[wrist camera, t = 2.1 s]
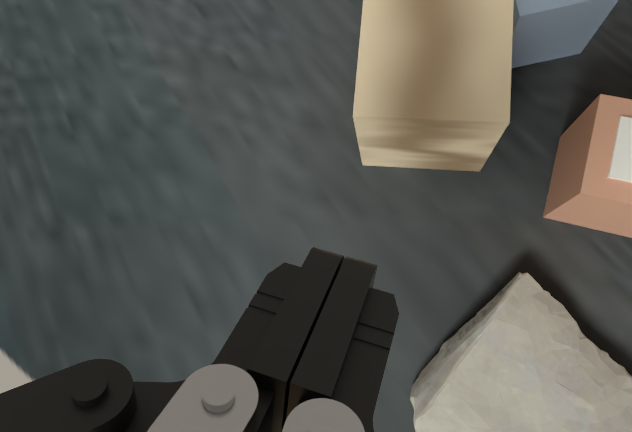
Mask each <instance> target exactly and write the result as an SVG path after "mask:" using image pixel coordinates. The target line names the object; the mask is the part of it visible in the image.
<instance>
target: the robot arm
mask: <svg viewBox="0 0 632 432" xmlns="http://www.w3.org/2000/svg"><path fill="white" fill-rule="evenodd" d="M376 270H377V265H374V264H371V263H367V262H364V261H360V260H357V259H353V258H350V257H345V259H344V256H342V255H339V254H335V253H332V252H328V251H325V250H321V249H318V248H314V247H313V248H312V249H311V250H310V252H309V254H308V256H307V258H306V260H305V261H304V263H303V265H302V267H298V266H295V265H291V264H288V263H283V264H282V265H280V266H279V267H277V268H276V269H274V270H273V271H272V272H270V273H269V274H267V276H266V277H265V279H264V281H263V282H262V284H261V286H260V287H259V289H258V290H257V294H255V295H254V297H253V299H252V300H251V302H250V304H249V307H248V308H246V310H245V312H244V313H243V315H242V317H241V318H240V320H239V322H238V323H237V325H236V327H235V328H234V330H233V331H232V333H231V335H230V336H229V338H228V340H227V341H226V343H225V345H224V346H223V348H222V349H221V351H220V353H219V354H218V356H217V358H216V359H215V360H214V362H213V363H212V364H211V365H209V366H206V367H203V368H201V369H199V370H197V371H196V372H194V373H193V374H192V375H190V376H189V377H188V378H187V379H186V380H183V381H179V382H168V383H164V382H133V379H132V376H131V374H130V372H129V371H128V370H127V369H126V367H125V366H123V365H122V364H120V363H118V362H116V361H112V360H108V359H94V360H89V361H85V362H82V363H79V364H76V365H74V366H71V367H68V368H66V369H63V370H61V371H58V372H55V373H53V374H50V375H48V376H45V377H42V378H40V379H37V380H35V381H32V382H30V383H27V384H24V385H22V386H19V387H17V388H14V389H11V390H9V391H6V392H4V393H1V394H0V432H374V429H373V413H374V409H375V405H376V401H377V397H378V393H379V389H380V385H381V382H382V378H383V374H384V370H385V366H386V362H387V358H388V354H389V350H390V347H391V343H392V339H393V335H394V331H395V327H396V323H397V320H398V316H399V312H398V308H397V305H396V301H395V297H394V294H390V293H387V292H384V291H380V290H377V289H373V283H374V279H375V275H376Z"/></svg>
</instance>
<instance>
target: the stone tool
mask: <svg viewBox="0 0 632 432" xmlns="http://www.w3.org/2000/svg"><path fill="white" fill-rule="evenodd" d="M410 400H411V403H412V405H413V408H414V420H413V421H414V427H415V431H416V432H632V376H631V375H630V374H629V373H628V372H627V371H626V370H625V368H624V367H623V366H621V365H619V364H617V363H616V362H615V361H613V360H612V359H611V358H610V357H609V355H608V353H606V352H605V351H603V350H600V349H599V348H598V347H597V346H596V345H595V344H594V343H592V342H591V341H590V340H589V339H588V338H586V337H585V336H584V335H583V334H582V332H581V330H580V328H579V326H578V324H577V322H576V321H575V320H574V319H573V318H572V316H571V315H570V314H569V313H568V311H567V310H566V309H565V307H564V306H563V305H562V304H561V303H560V302H559V301H557V300H556V299H554V298H553V297H552V296H551V295H550V293H549V292H547V291H545V290H543V289H542V287H541V286H540V285H539V284H538V283H537V282H536V281H535V280H534V279H533V277H531V276H530V275H529V274H528V273H523V274H522V273H520V272H519V273H518V274H517V275H516V276H515V277H514V278H513V279H512V280H511V281H510V282H509V283H508V284H507V285H506V286H505V287H504V288H503V289H502V290H501V291H499V293H498V294H497V295H496V296H495V297H494V298H493V299H492V300H491V301H490V302H489V303H488V304H487V305H485V306H484V307H483V308H482V309H481V310H480V311H479V312H477V314H476V316H475V317H474V318H472V319H471V320H470V321H468V322H467V323H466V324H465V325H464V326H462V327H461V328H460V329H459V331H458V332H457V333H456V334H455V335H454V336H453V337H451V338H450V339H449V340H447V341H446V342H445V343H444V344H443V345H442V346H441V348H440V351H439V353H438V354H437V355H436V356H435V357H434V358H433V359H432V360H431V361H430V362H429V363H428V365H427V366H426V367H425V368H424V369H423V370H422V371H421V373H420V375H419V377H418V378H417V380H416V381H415V383H414V384H413V385H412V390H411V394H410Z"/></svg>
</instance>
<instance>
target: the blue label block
mask: <svg viewBox="0 0 632 432" xmlns="http://www.w3.org/2000/svg"><path fill="white" fill-rule="evenodd" d="M617 2H618V0H514V8H513V38H512V68H515V67H520V66H525V65H529V64H534V63H539V62H543V61H548V60H553V59H557V58H562V57H567V56H571V55H576V54H580V53H581V52H582V51H583V49H584V48H585V46H586V45H587V44H588V42H589V41H590V39H591V38H592V37H593V35H594V34H595V33H596V31H597V30H598V28H599V27H600V26H601V24H602V23H603V21H604V20H605V19H606V17H607V16H608V14H609V13H610V12H611V10H612V9H613V7H614V6H615V5H616V3H617Z"/></svg>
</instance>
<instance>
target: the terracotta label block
mask: <svg viewBox="0 0 632 432" xmlns="http://www.w3.org/2000/svg"><path fill="white" fill-rule="evenodd" d="M543 217H544V218H548V219H552V220H557V221H561V222H565V223H570V224H574V225H578V226H583V227H587V228H591V229H596V230H600V231H604V232H609V233H613V234H617V235H622V236H626V237H630V238H632V100H631V99H626V98H620V97H615V96H609V95H604V94H600V95H599V96H598V97H597V98H596V99H595V100H594V101H593V102H592V103H591V104H590V105H589V107H588V108H587V109H586V110H585V111H584V112H583V113H582V114H581V115H580V116H579V117H578V118H577V119H576V120H575V121H574V122H573V123H572V125H571V126H570V127H569V128H568V129H567V130H566V131H565V132H564V133H563V134H562V135H561V136H560V139H559V144H558V149H557V153H556V158H555V163H554V168H553V172H552V177H551V182H550V186H549V191H548V196H547V200H546V205H545V210H544V214H543Z"/></svg>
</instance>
